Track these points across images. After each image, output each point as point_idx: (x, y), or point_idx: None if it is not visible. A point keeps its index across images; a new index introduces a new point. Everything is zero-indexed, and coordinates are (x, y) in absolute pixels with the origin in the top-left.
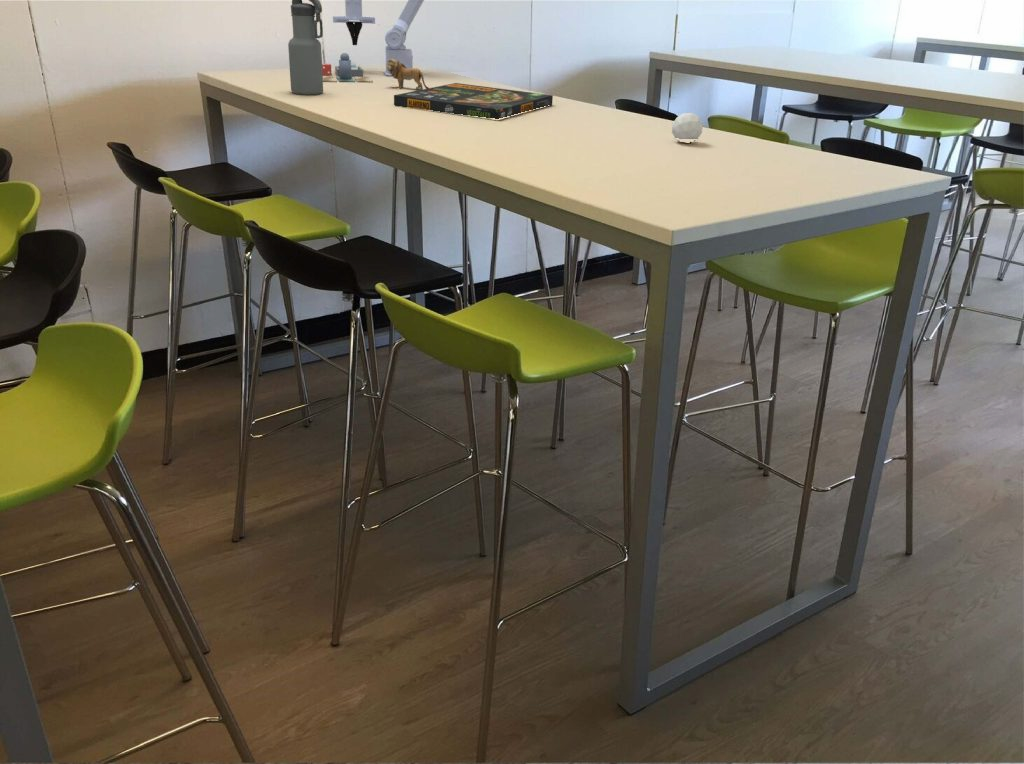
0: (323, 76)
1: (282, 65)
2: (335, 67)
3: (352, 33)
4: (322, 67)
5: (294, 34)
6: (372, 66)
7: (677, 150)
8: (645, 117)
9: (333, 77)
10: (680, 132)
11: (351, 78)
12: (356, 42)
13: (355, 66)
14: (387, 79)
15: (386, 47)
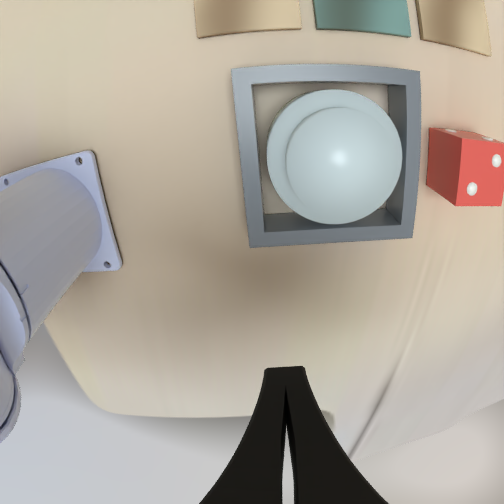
0: (472, 45)
1: (495, 372)
2: (413, 212)
3: (323, 457)
4: (493, 140)
5: None
6: (199, 416)
7: None
8: None
9: (424, 3)
10: None
11: None
12: (270, 384)
13: (289, 140)
14: (92, 25)
15: (2, 278)
